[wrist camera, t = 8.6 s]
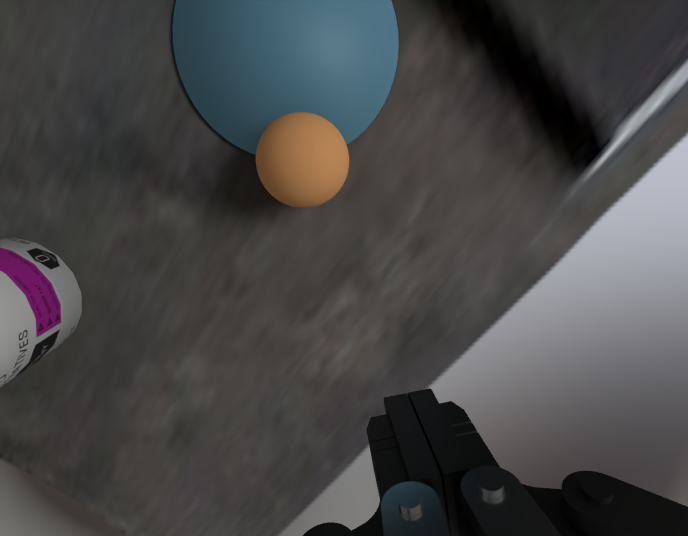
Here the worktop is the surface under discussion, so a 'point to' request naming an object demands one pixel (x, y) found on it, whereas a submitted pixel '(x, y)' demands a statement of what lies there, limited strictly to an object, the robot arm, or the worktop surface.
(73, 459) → the worktop surface
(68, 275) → the supplement can
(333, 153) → the ball
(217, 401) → the worktop surface
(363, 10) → the disc
